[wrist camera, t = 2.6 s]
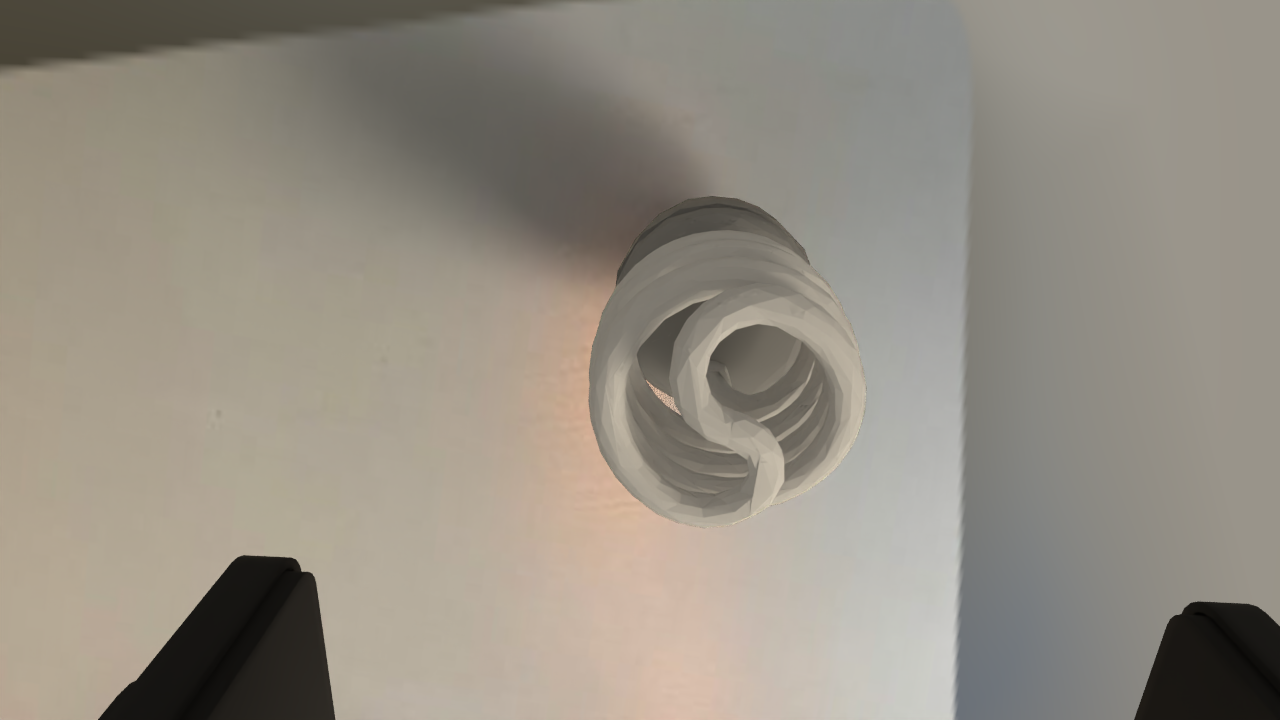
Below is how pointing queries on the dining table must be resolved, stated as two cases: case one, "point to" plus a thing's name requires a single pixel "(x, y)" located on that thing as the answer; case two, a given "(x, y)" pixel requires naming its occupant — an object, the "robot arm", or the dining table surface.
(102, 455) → the dining table surface
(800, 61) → the dining table surface
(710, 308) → the light bulb
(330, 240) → the dining table surface
